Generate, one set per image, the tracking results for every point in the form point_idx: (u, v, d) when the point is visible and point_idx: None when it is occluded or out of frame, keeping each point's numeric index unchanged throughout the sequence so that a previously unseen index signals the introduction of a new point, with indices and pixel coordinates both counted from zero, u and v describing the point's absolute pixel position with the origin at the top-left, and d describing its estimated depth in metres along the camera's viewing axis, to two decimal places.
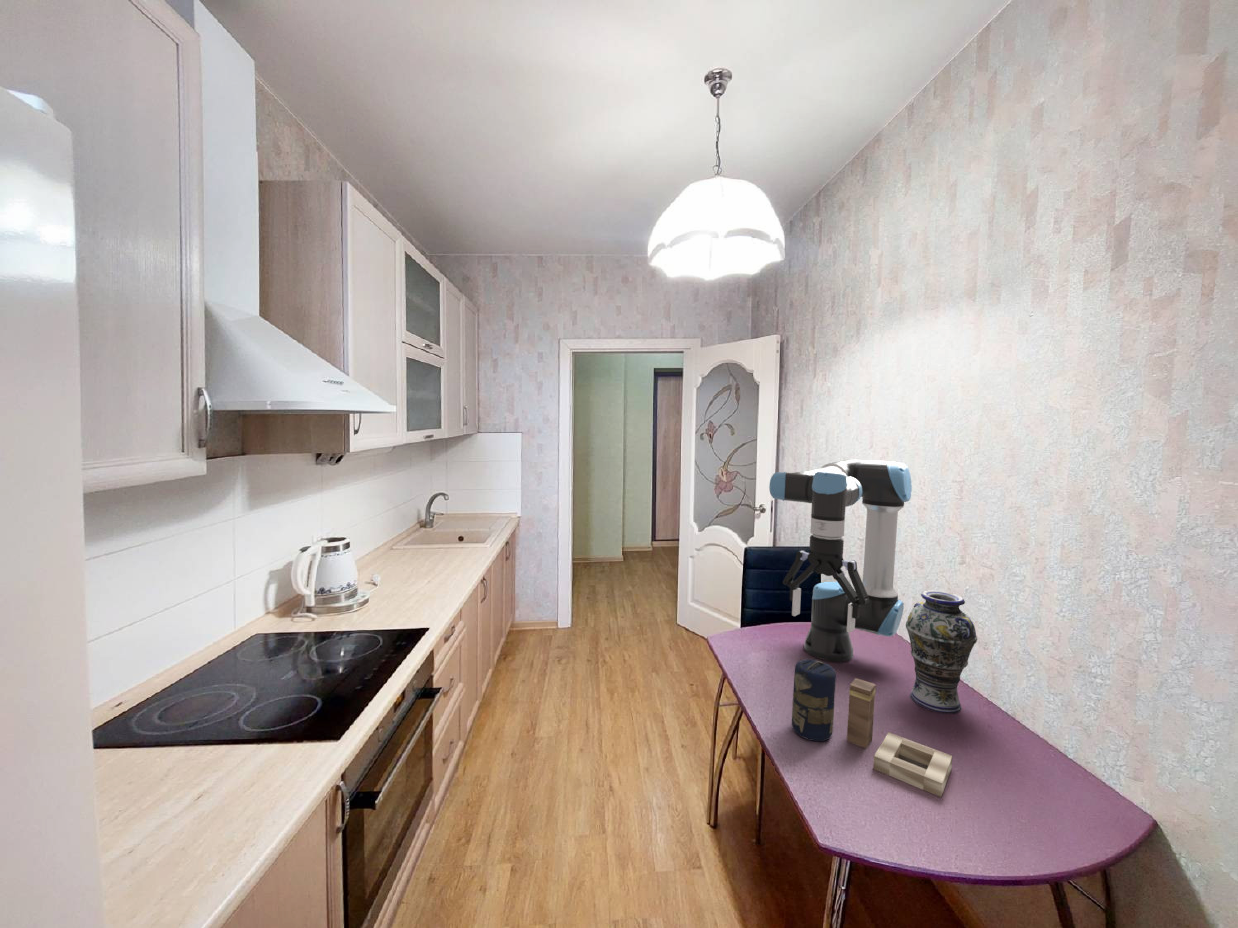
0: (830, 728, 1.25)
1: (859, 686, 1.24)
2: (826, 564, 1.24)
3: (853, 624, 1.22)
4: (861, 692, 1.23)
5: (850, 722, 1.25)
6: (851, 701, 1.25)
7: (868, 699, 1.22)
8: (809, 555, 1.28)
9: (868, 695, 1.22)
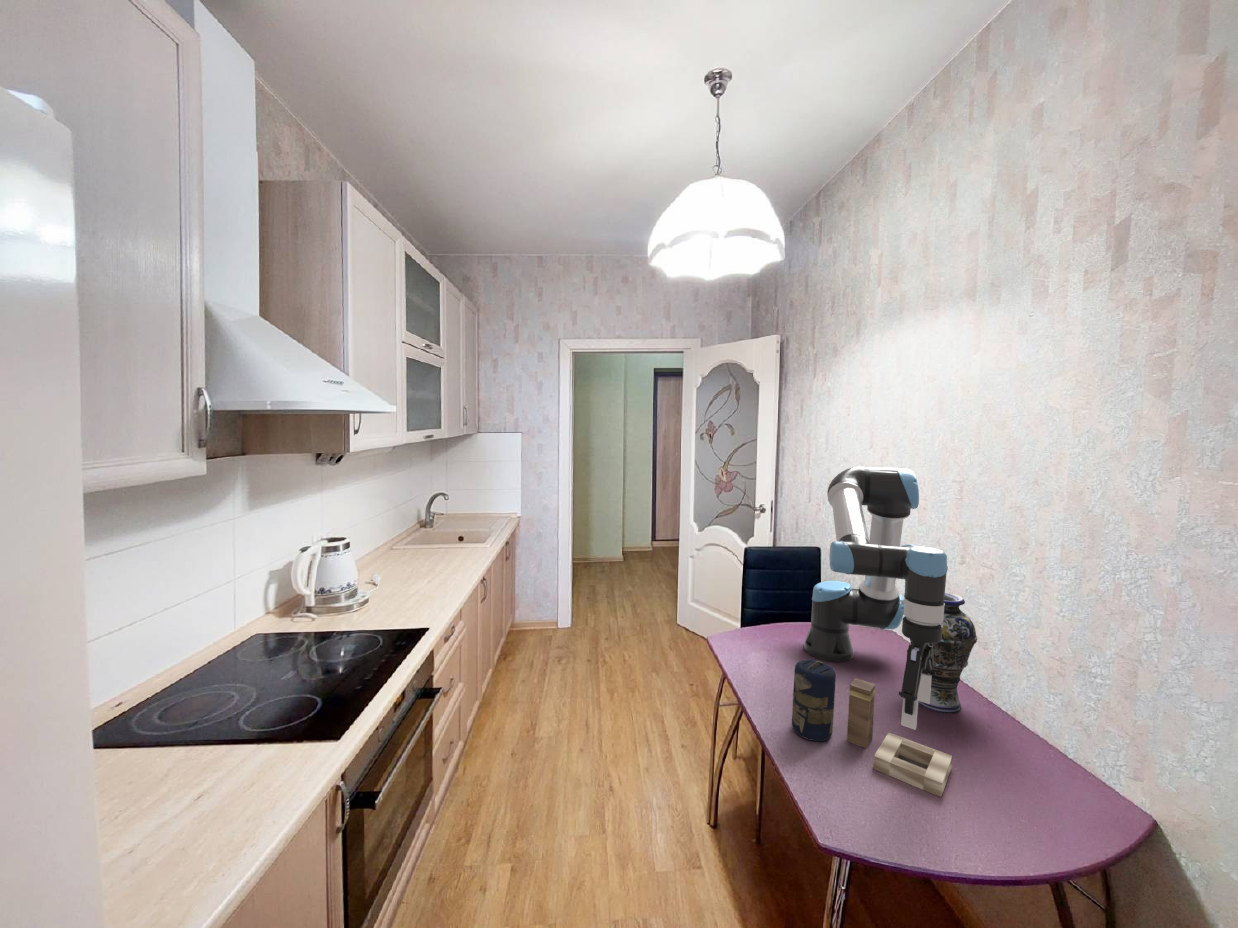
0: (830, 728, 1.25)
1: (859, 686, 1.24)
2: (909, 646, 1.14)
3: (911, 721, 1.09)
4: (861, 692, 1.23)
5: (850, 722, 1.25)
6: (851, 701, 1.25)
7: (868, 699, 1.22)
8: None
9: (868, 695, 1.22)
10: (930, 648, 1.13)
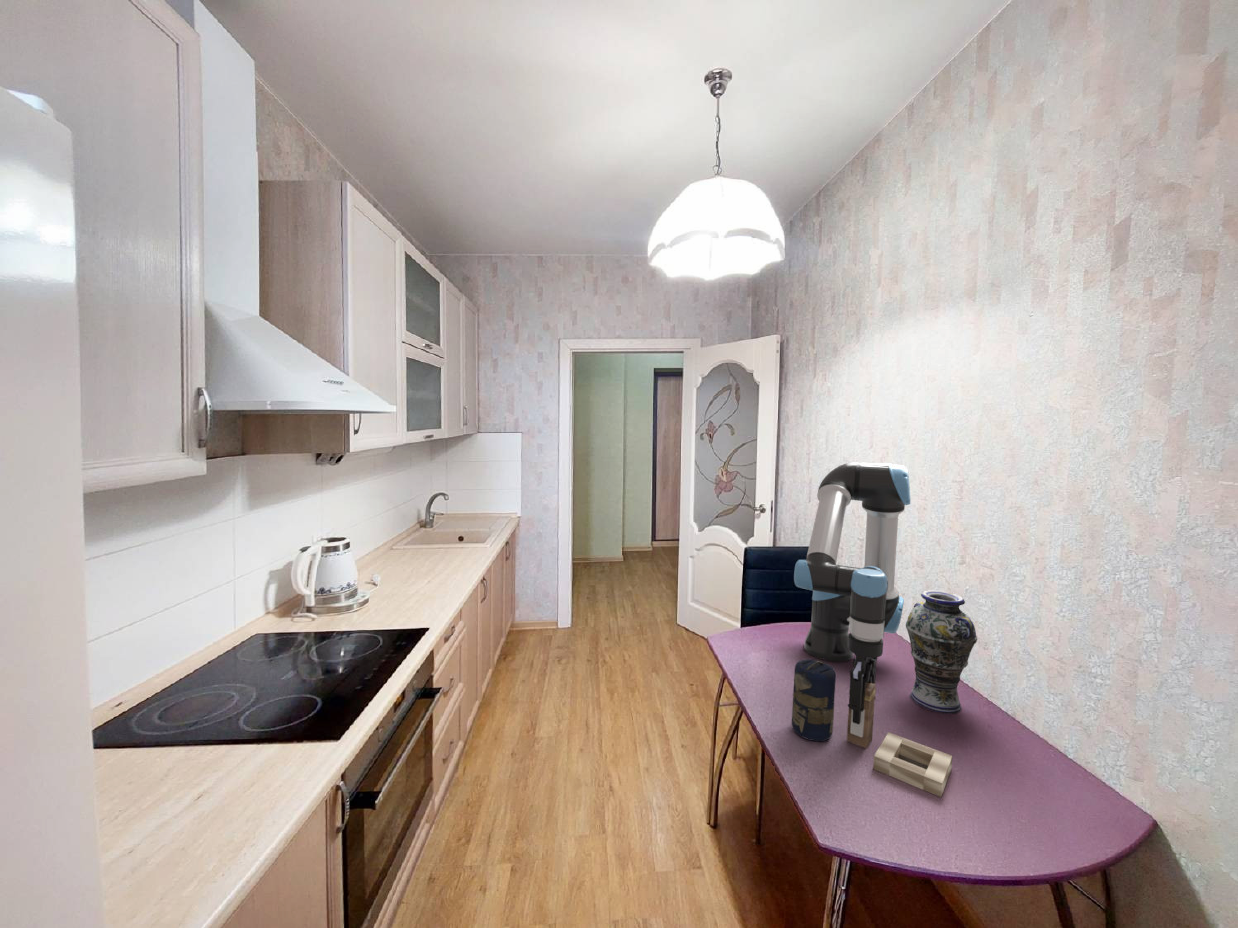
0: (830, 728, 1.25)
1: None
2: None
3: (858, 730, 1.23)
4: None
5: (850, 722, 1.25)
6: None
7: (868, 699, 1.22)
8: None
9: (868, 695, 1.22)
10: (873, 661, 1.24)
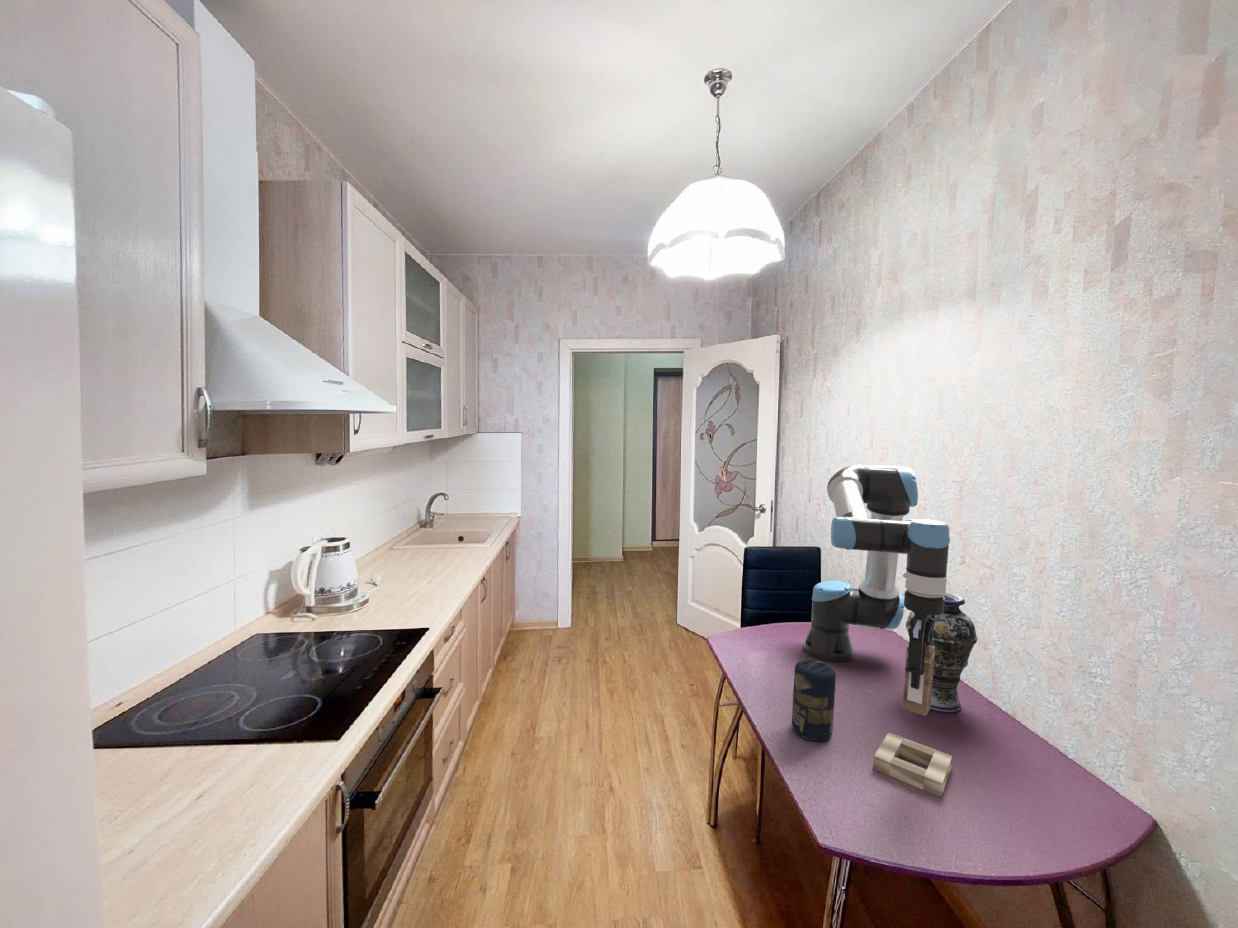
0: (830, 728, 1.25)
1: None
2: (911, 619, 1.14)
3: (917, 696, 1.12)
4: None
5: (907, 688, 1.14)
6: None
7: (928, 661, 1.11)
8: None
9: (928, 657, 1.11)
10: (932, 620, 1.13)
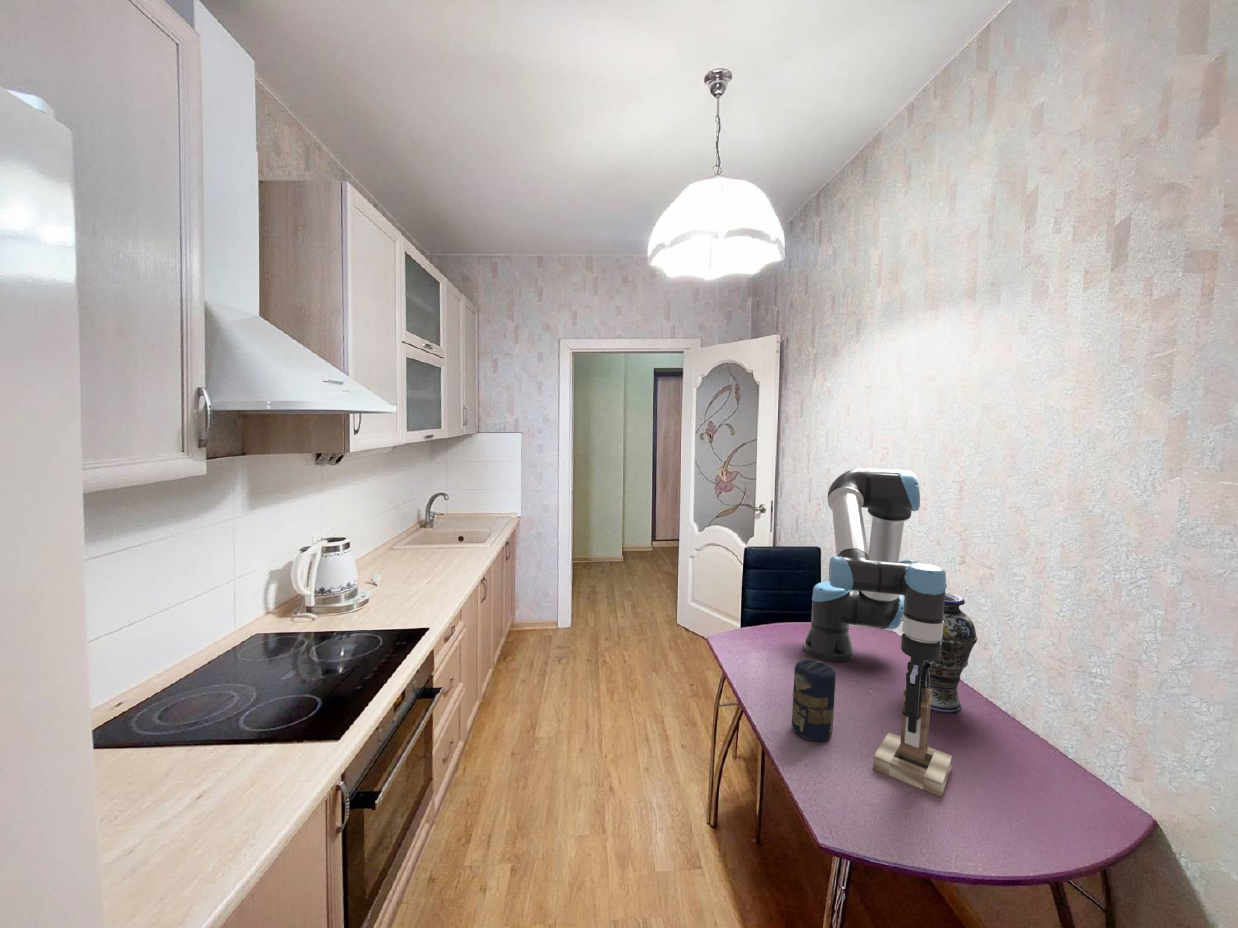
0: (830, 728, 1.25)
1: None
2: (908, 663, 1.15)
3: (914, 739, 1.13)
4: None
5: (904, 731, 1.15)
6: None
7: (925, 706, 1.12)
8: None
9: (925, 701, 1.12)
10: (929, 664, 1.14)
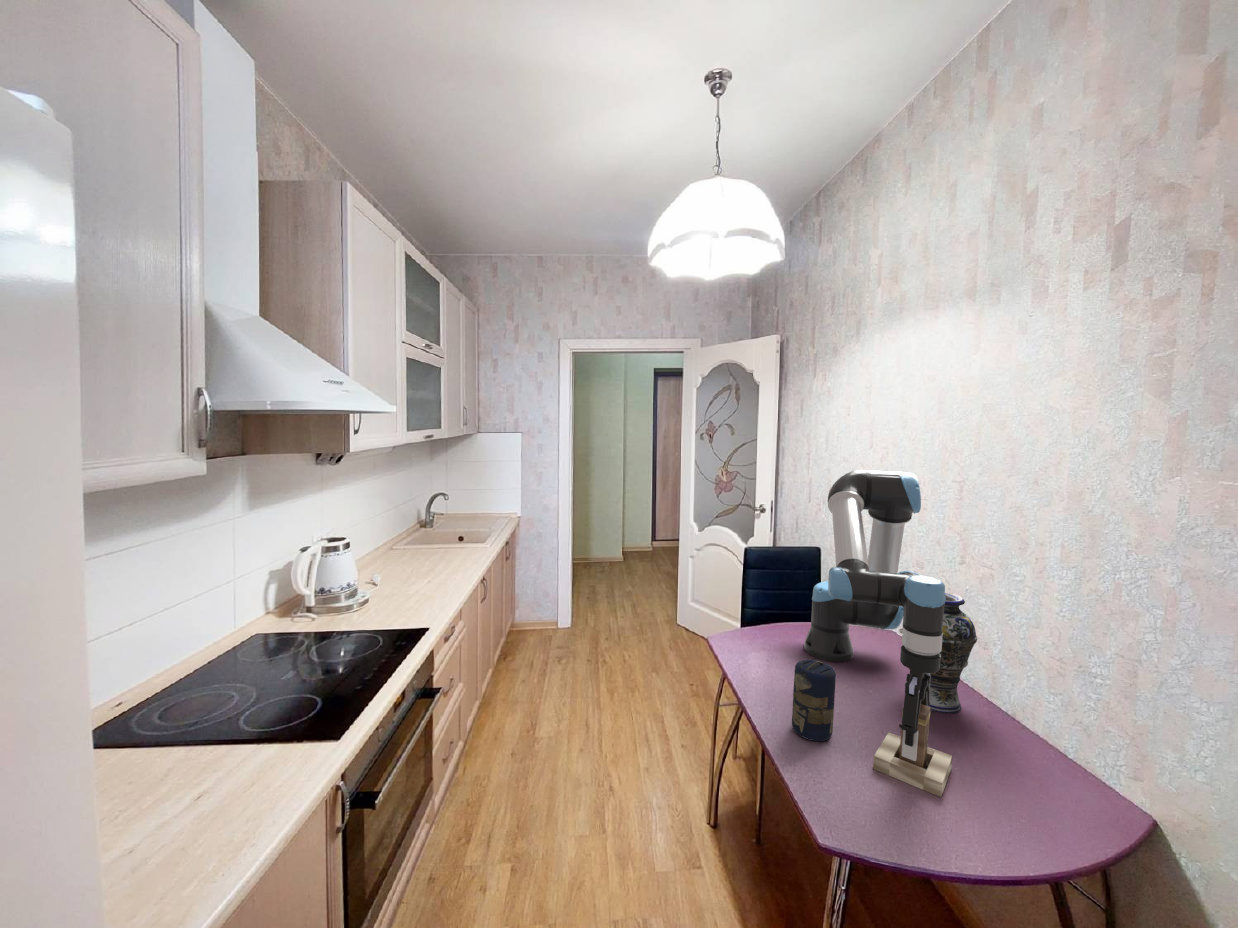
0: (830, 728, 1.25)
1: None
2: None
3: (911, 752, 1.12)
4: None
5: None
6: None
7: (924, 724, 1.12)
8: None
9: (924, 719, 1.12)
10: (928, 676, 1.14)
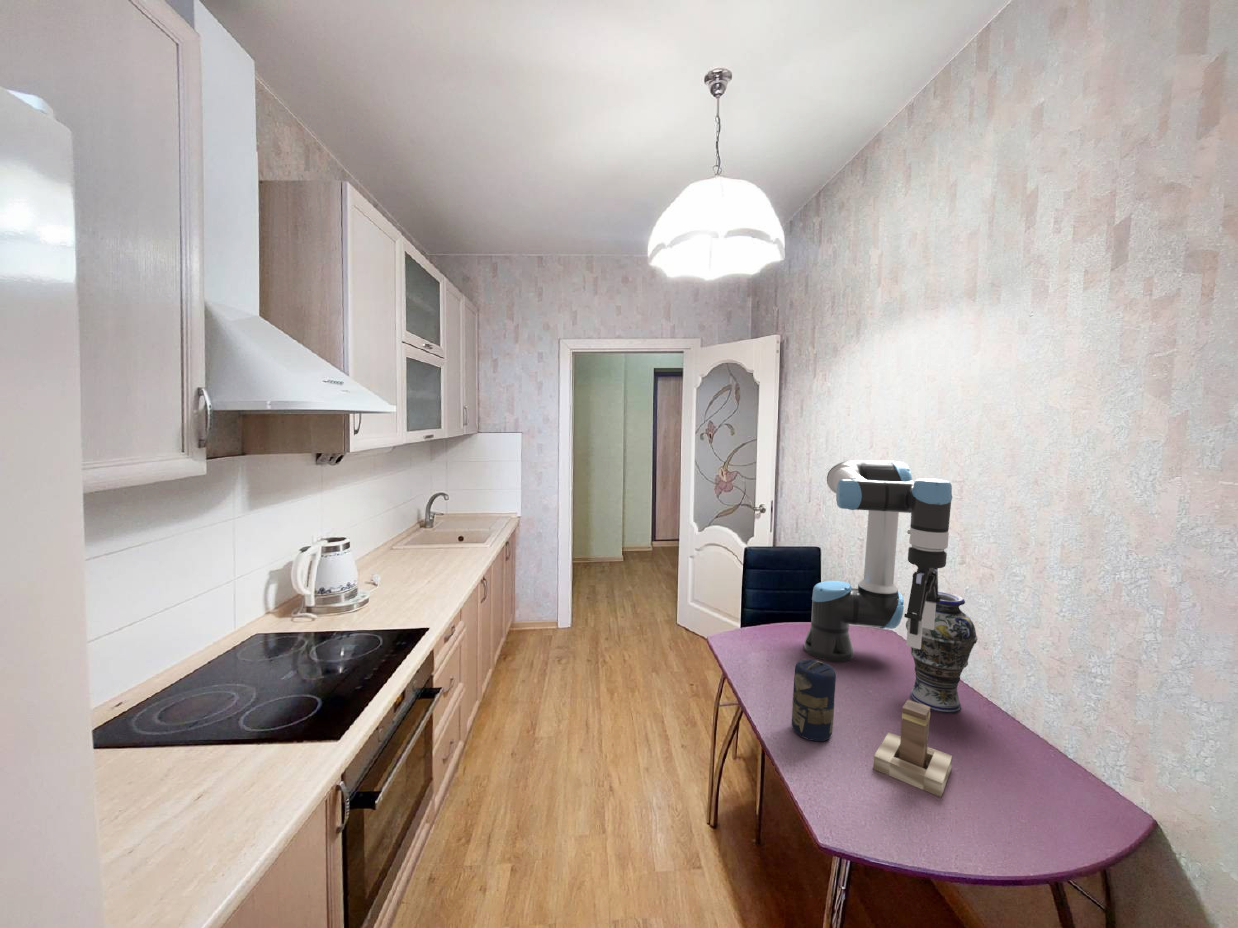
0: (830, 728, 1.25)
1: (913, 709, 1.14)
2: None
3: (915, 641, 1.15)
4: (916, 716, 1.13)
5: (902, 748, 1.15)
6: (904, 725, 1.15)
7: (924, 724, 1.12)
8: None
9: (924, 719, 1.12)
10: (935, 574, 1.19)
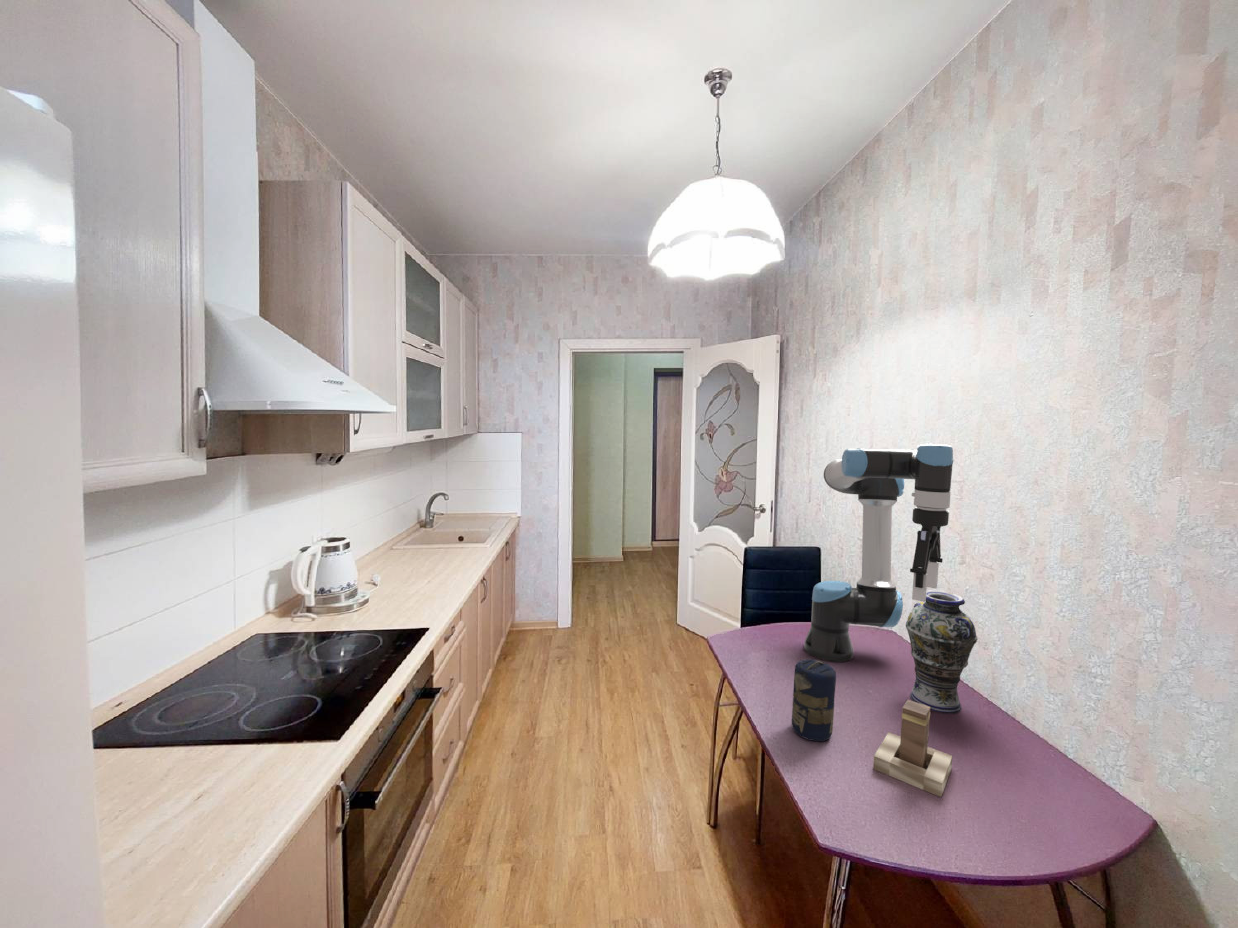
0: (830, 728, 1.25)
1: (913, 709, 1.14)
2: None
3: (921, 595, 1.23)
4: (916, 716, 1.13)
5: (902, 748, 1.15)
6: (904, 725, 1.15)
7: (924, 724, 1.12)
8: None
9: (924, 719, 1.12)
10: (938, 533, 1.27)
